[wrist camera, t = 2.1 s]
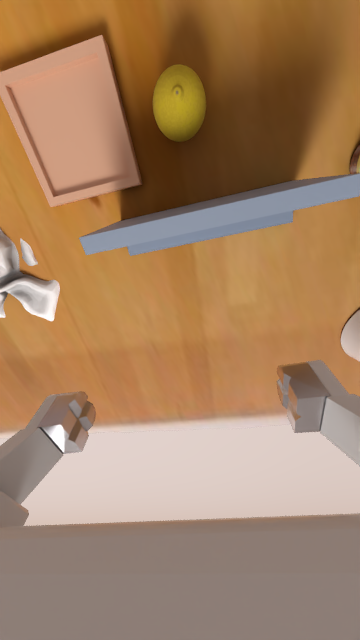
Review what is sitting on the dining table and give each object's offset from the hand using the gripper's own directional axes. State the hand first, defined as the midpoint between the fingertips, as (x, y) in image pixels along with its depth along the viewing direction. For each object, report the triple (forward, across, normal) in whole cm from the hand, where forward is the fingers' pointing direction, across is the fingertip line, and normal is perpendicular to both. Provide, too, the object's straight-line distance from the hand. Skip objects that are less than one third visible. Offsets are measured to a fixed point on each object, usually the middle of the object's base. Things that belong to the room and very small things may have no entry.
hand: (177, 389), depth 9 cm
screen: (+28, +3, +3) cm, 29 cm away
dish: (+29, -11, +16) cm, 34 cm away
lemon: (+29, +2, +14) cm, 32 cm away
